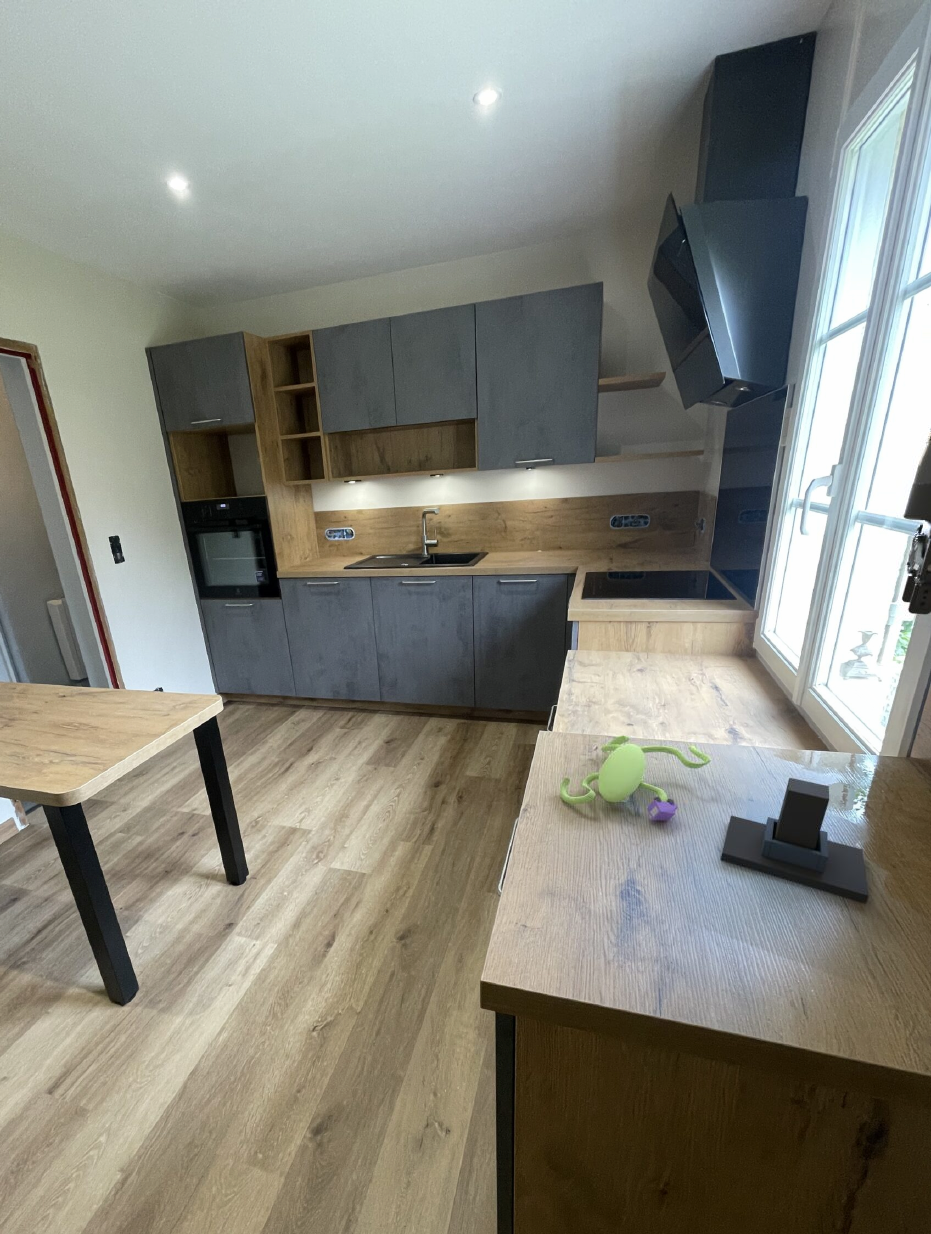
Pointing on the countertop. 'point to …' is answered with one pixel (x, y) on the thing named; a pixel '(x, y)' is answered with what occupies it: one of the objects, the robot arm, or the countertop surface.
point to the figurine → (631, 776)
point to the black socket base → (797, 858)
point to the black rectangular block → (802, 813)
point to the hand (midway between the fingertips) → (914, 607)
